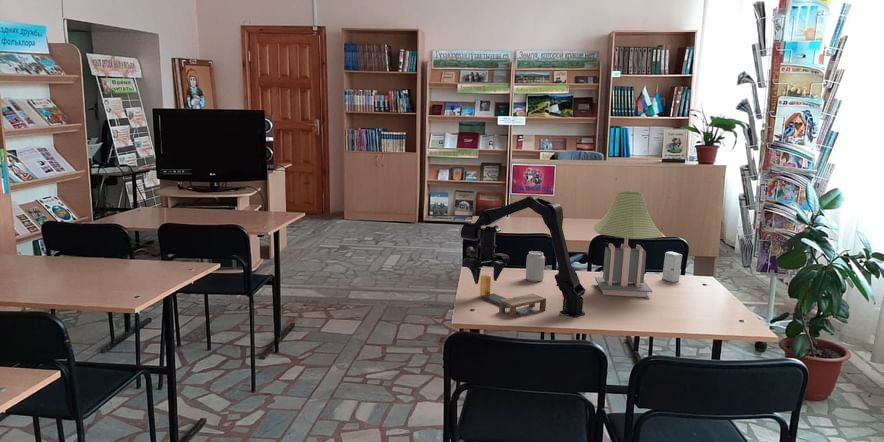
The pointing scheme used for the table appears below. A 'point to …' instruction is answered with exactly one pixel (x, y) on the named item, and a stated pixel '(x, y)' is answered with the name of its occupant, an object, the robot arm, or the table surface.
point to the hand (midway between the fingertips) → (485, 282)
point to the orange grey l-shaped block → (486, 291)
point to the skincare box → (672, 266)
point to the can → (535, 266)
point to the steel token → (523, 311)
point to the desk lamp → (626, 245)
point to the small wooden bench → (521, 303)
